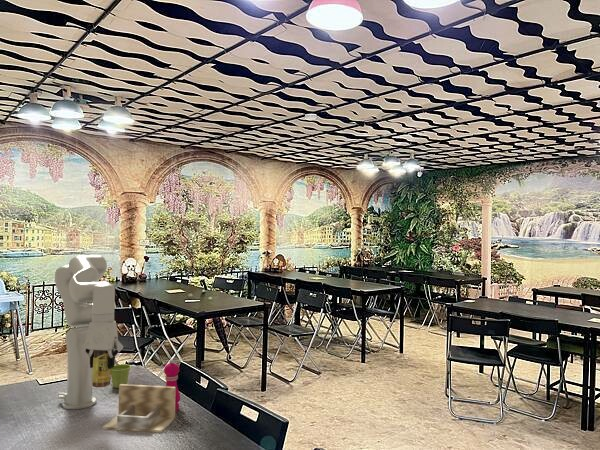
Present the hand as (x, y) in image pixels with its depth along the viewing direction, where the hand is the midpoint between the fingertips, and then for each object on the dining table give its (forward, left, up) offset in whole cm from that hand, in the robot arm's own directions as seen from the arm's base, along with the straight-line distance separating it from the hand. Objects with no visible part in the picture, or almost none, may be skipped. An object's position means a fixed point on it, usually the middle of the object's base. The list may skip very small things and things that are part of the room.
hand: (102, 366), depth 170 cm
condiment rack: (+13, +5, -22) cm, 25 cm away
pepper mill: (+19, +20, -22) cm, 35 cm away
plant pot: (-15, +44, -22) cm, 51 cm away
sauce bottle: (0, 0, -7) cm, 7 cm away
